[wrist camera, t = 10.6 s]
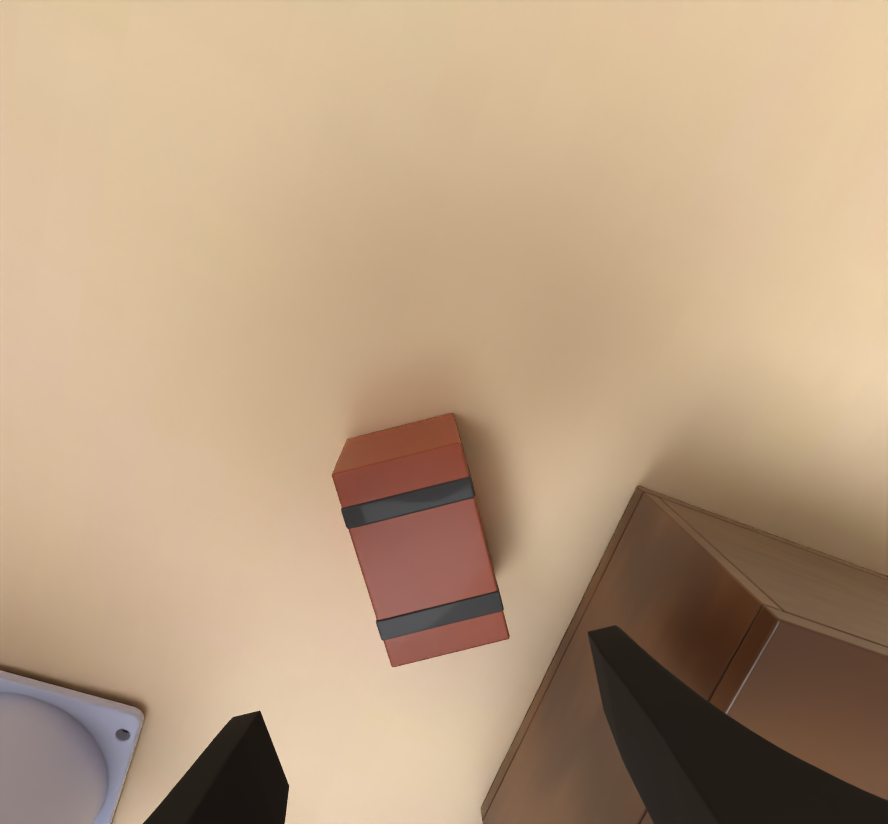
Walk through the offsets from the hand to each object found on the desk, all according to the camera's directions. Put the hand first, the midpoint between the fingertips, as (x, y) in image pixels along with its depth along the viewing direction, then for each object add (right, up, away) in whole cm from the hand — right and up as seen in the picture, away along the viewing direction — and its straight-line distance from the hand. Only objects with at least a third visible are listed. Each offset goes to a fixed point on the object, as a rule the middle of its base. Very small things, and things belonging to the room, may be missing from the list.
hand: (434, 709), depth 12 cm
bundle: (-1, +3, +8) cm, 9 cm away
